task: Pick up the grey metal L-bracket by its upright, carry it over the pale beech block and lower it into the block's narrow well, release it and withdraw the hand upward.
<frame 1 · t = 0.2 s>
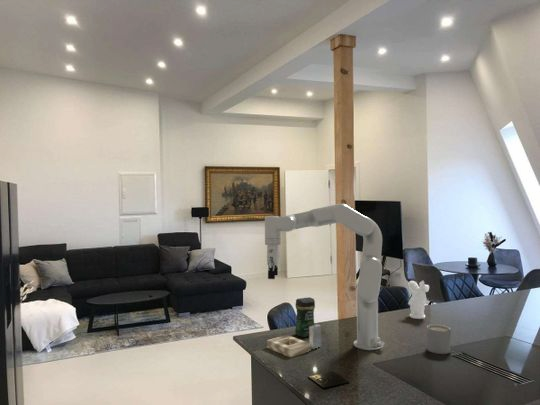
hand: (272, 277, 205), 31 cm above the counter, tool pointing down, fingers open, 9 cm apart
coffee mug: (441, 349, 192), on the counter
coffee jar: (305, 335, 213), on the counter
bracket: (312, 346, 196), on the counter
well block: (288, 349, 193), on the counter
cherub figurine: (420, 317, 244), on the counter
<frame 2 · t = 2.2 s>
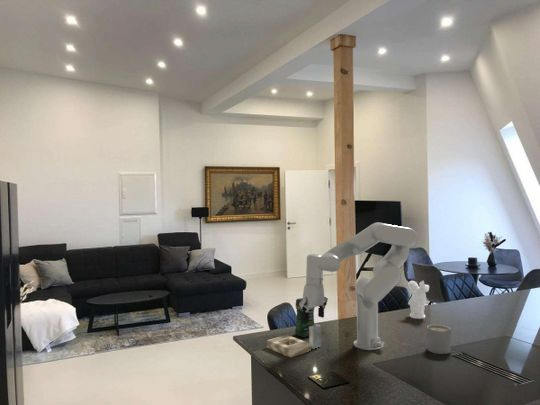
hand: (313, 318, 195), 13 cm above the counter, tool pointing down, fingers open, 9 cm apart
nothing on the counter moved.
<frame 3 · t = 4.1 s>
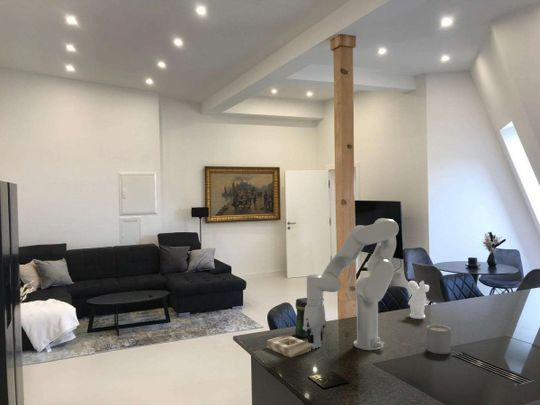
hand: (315, 341, 195), 3 cm above the counter, tool pointing down, fingers closed on bracket, 5 cm apart
bracket: (312, 346, 196), on the counter, touching gripper
everything else where it was.
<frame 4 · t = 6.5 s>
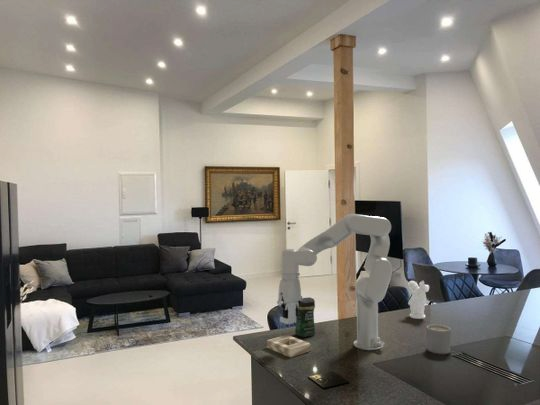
hand: (290, 316, 192), 15 cm above the counter, tool pointing down, fingers closed on bracket, 5 cm apart
bracket: (287, 322, 193), point 12 cm above the counter, touching gripper
everything else where it was.
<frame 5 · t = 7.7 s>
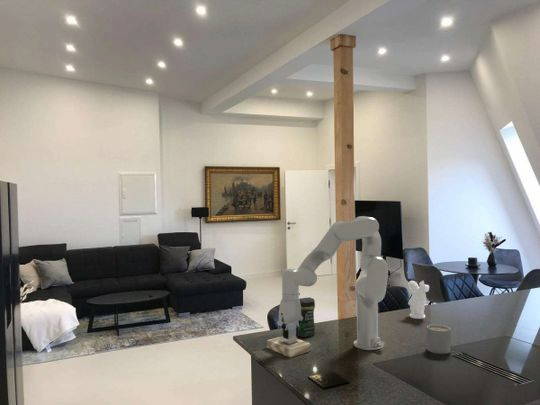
hand: (290, 336, 192), 6 cm above the counter, tool pointing down, fingers closed on bracket, 5 cm apart
bracket: (288, 342, 193), point 3 cm above the counter, touching gripper
everything else where it was.
when the fingers open (4 cm above the counter, at t = 8.8 s): bracket drops 1 cm, resting in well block.
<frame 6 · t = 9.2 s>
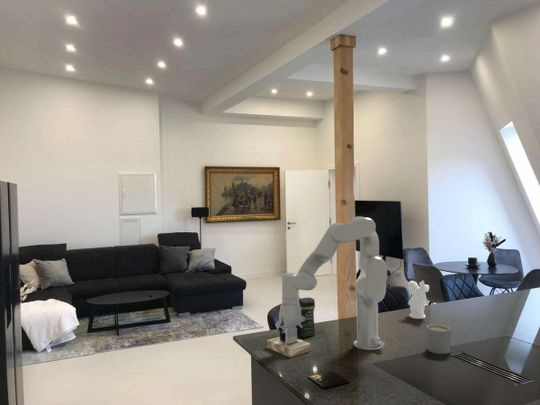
hand: (290, 338, 192), 5 cm above the counter, tool pointing down, fingers open, 9 cm apart
bracket: (288, 349, 193), resting in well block
everything else where it was.
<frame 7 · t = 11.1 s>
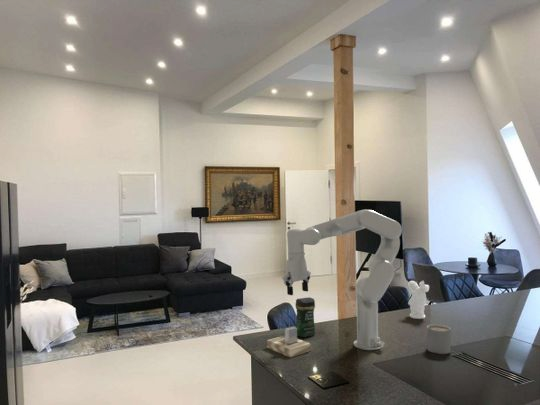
hand: (297, 292, 197), 25 cm above the counter, tool pointing down, fingers open, 9 cm apart
nothing on the counter moved.
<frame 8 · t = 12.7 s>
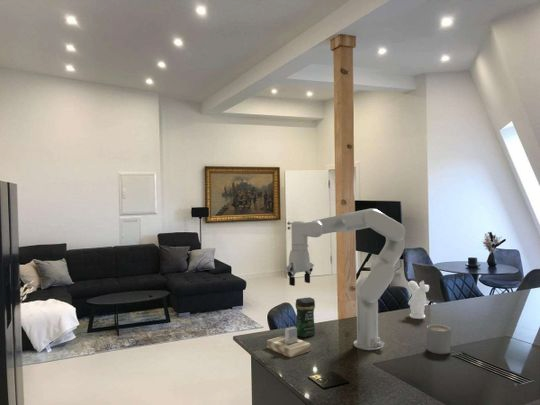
hand: (299, 283, 200), 28 cm above the counter, tool pointing down, fingers open, 9 cm apart
nothing on the counter moved.
at the end: bracket 0.1 cm off-centre on the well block, point 0.0 cm above the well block's base; bracket tilted 0°; the gripper is holding nothing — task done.
